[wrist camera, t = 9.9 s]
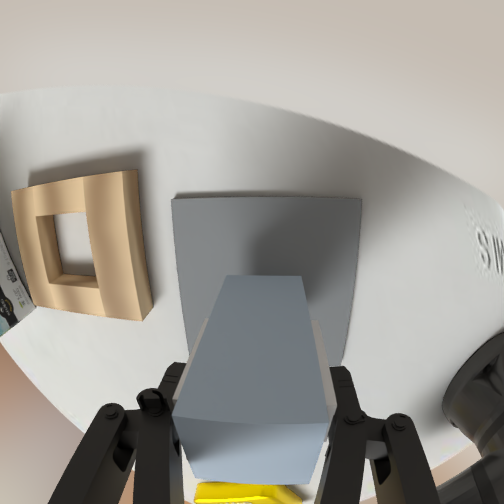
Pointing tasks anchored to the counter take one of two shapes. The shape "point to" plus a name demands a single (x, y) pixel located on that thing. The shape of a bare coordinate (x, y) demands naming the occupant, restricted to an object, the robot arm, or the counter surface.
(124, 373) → the counter surface
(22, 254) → the holder
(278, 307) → the part
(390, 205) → the counter surface
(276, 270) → the plate
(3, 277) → the tea box
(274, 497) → the element tile
